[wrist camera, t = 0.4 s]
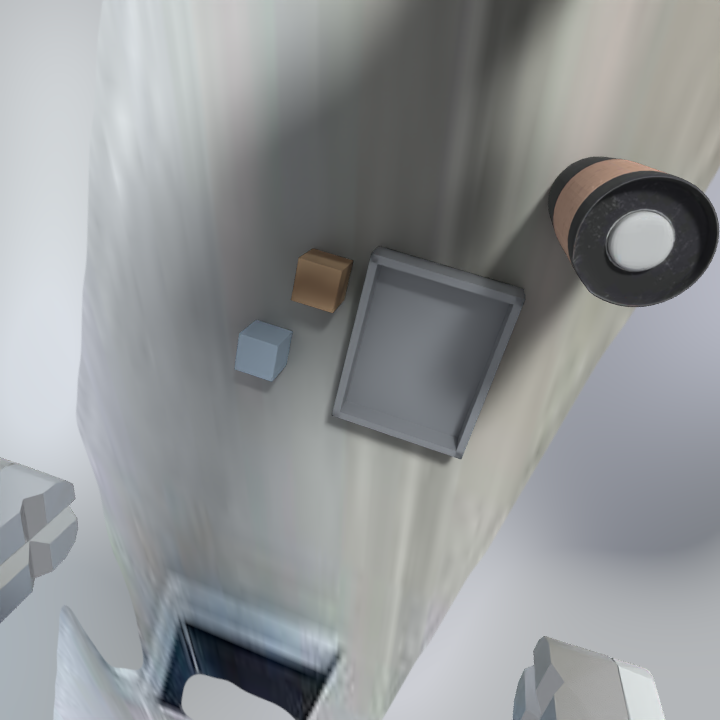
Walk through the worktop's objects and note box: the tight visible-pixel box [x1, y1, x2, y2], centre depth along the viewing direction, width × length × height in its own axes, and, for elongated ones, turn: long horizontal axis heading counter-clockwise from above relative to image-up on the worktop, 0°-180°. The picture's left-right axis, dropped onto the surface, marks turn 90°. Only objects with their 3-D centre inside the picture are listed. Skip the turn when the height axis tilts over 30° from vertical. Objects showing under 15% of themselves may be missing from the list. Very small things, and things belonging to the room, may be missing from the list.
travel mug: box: [548, 157, 719, 307], centre depth 38 cm, size 8×8×20 cm
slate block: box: [234, 320, 293, 382], centre depth 59 cm, size 4×4×4 cm
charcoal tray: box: [332, 246, 525, 459], centre depth 55 cm, size 19×15×4 cm
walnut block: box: [291, 248, 353, 313], centre depth 54 cm, size 4×4×4 cm
